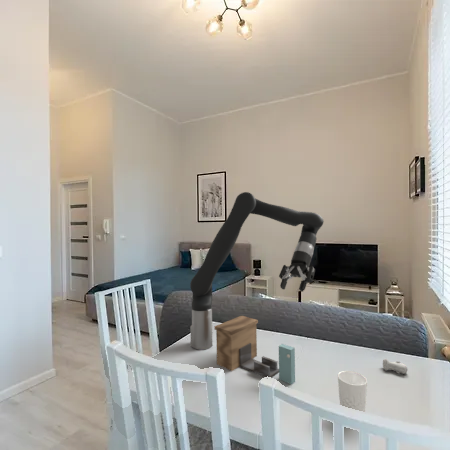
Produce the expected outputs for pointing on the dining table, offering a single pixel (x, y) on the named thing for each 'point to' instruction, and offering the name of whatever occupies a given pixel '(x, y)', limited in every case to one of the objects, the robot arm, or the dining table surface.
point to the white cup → (352, 390)
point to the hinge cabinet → (241, 347)
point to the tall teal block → (287, 363)
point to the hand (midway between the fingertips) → (291, 289)
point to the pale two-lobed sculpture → (394, 366)
